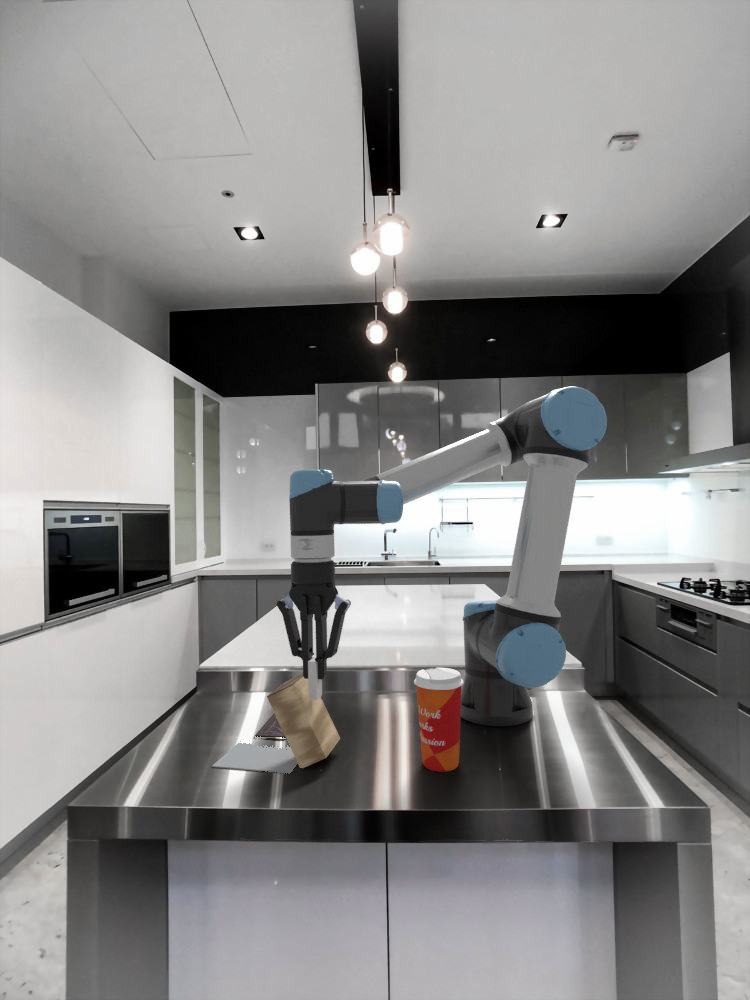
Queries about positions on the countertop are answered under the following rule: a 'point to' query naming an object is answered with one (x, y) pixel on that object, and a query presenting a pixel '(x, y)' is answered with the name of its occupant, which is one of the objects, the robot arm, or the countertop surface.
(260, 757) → the felt mat
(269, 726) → the chocolate bar
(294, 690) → the oak block
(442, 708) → the coffee cup
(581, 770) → the countertop surface
